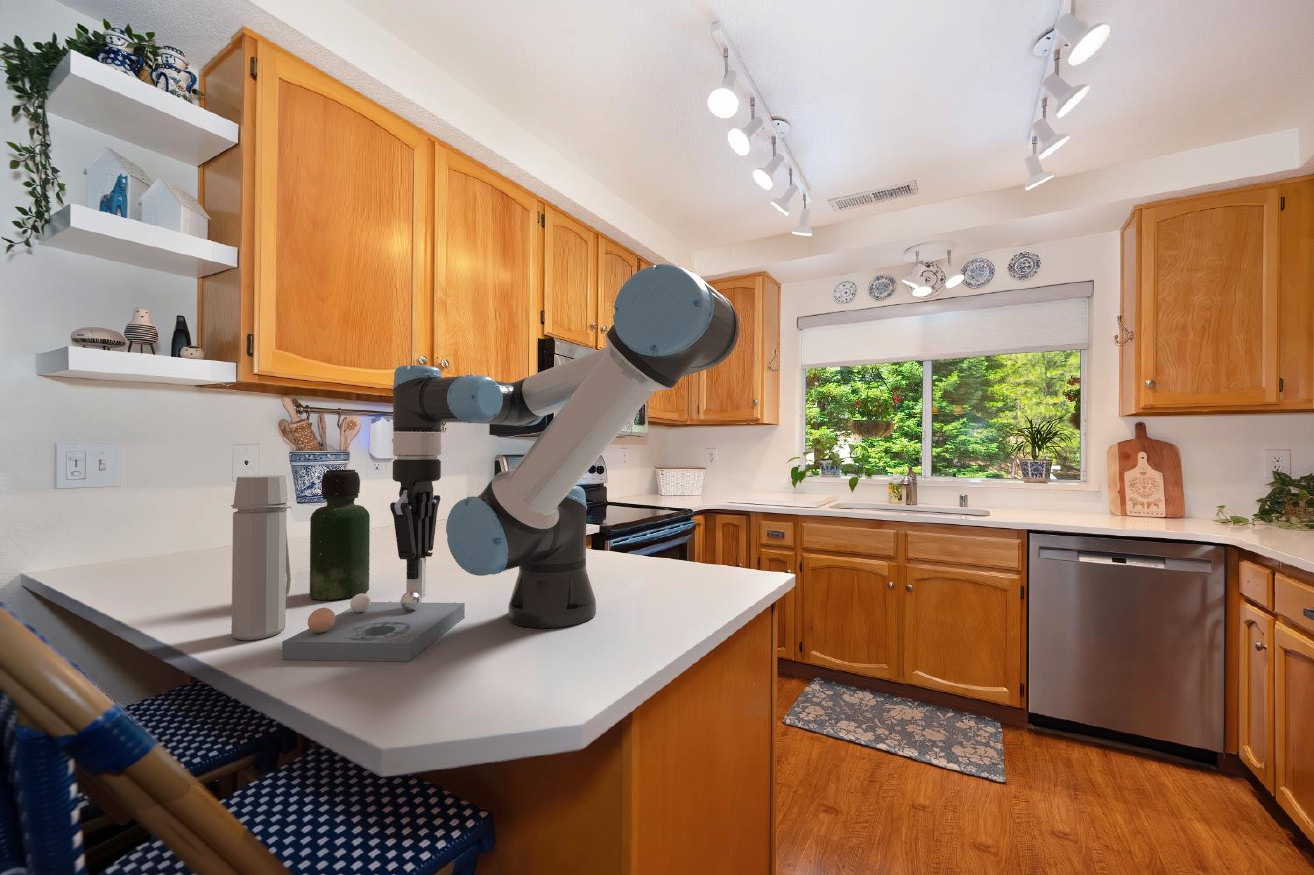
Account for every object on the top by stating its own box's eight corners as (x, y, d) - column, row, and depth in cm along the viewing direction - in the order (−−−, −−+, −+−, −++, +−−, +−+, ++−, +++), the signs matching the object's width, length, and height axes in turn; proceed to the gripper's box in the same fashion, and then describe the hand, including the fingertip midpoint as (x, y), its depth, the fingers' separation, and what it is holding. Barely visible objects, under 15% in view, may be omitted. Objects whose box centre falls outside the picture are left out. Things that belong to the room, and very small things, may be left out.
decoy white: (374, 609, 94) (374, 591, 94) (364, 614, 91) (364, 596, 91) (357, 609, 94) (357, 591, 94) (346, 614, 91) (346, 596, 91)
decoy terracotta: (340, 628, 84) (340, 605, 84) (325, 636, 80) (325, 611, 80) (317, 628, 84) (317, 604, 84) (301, 636, 80) (302, 611, 81)
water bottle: (259, 644, 84) (261, 477, 85) (216, 640, 86) (218, 477, 86) (308, 624, 93) (310, 474, 94) (269, 622, 95) (270, 474, 95)
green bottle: (344, 602, 107) (345, 471, 107) (296, 600, 108) (297, 471, 109) (380, 589, 117) (380, 469, 117) (335, 587, 119) (336, 468, 119)
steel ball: (426, 592, 95) (417, 589, 92) (423, 611, 94) (413, 609, 91) (408, 593, 95) (398, 589, 92) (405, 612, 94) (395, 610, 91)
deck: (464, 617, 97) (464, 602, 97) (408, 661, 77) (408, 643, 77) (363, 616, 98) (363, 601, 98) (282, 659, 78) (282, 641, 78)
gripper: (414, 456, 102) (413, 586, 102) (374, 458, 89) (373, 607, 89) (454, 456, 101) (453, 587, 101) (420, 459, 88) (418, 608, 88)
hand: (416, 596), depth 95 cm, fingers closed
